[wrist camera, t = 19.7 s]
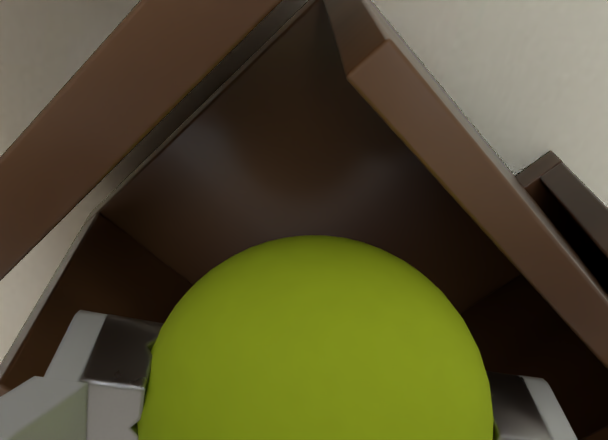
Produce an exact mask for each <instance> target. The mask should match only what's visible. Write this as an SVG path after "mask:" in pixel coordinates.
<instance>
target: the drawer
mask: <svg viewBox="0 0 608 440" xmlns="http://www.w3.org/2000/svg"><path fill="white" fill-rule="evenodd" d="M281 1H282V0H140V1H139V3H138V4H137V5H136V6H135V7H134V8H133V9H132V10H131V12H130V13H129V14H128V15H127V16H126V17H125V18H124V19H123V20H122V22H121V23H120V24H119V25H118V26H117V27H116V28H115V29H114V31H113V32H112V33H111V34H110V35H109V36H108V37H107V38H106V40H105V41H104V42H103V43H102V44H101V45H100V46H99V47H98V48H97V50H96V51H95V52H94V53H93V54H92V55H91V56H90V57H89V59H88V60H87V61H86V62H85V63H84V64H83V65H82V66H81V68H80V69H79V70H78V71H77V72H76V73H75V74H74V75H73V77H72V78H71V79H70V80H69V81H68V82H67V83H66V84H65V85H64V87H63V88H62V89H61V90H60V91H59V92H58V93H57V94H56V96H55V97H54V98H53V99H52V100H51V101H50V102H49V103H48V105H47V106H46V107H45V108H44V109H43V110H42V111H41V112H40V113H39V115H38V116H37V117H36V118H35V119H34V120H33V121H32V122H31V124H30V125H29V126H28V127H27V128H26V129H25V130H24V131H23V133H22V134H21V135H20V136H19V137H18V138H17V139H16V140H15V141H14V143H13V144H12V145H11V146H10V147H9V148H8V149H7V150H6V152H5V153H4V154H3V155H2V156H1V157H0V281H1V280H2V279H3V278H4V277H5V276H6V275H7V274H8V273H9V272H10V271H11V270H12V269H13V268H14V267H15V266H16V265H17V264H18V263H19V262H20V261H21V260H22V259H23V258H24V257H25V256H26V255H27V254H28V253H29V252H30V251H31V250H32V249H33V248H34V247H35V246H36V245H37V244H38V243H39V242H40V241H41V240H42V239H43V238H44V237H45V236H46V235H47V234H48V233H49V232H50V231H51V230H52V229H53V228H54V227H55V226H56V225H57V224H58V223H59V222H60V221H61V220H62V219H63V218H64V217H65V216H66V215H67V214H68V213H69V212H70V211H71V210H72V209H73V208H74V207H75V206H76V205H77V204H78V203H79V202H80V201H81V200H82V199H83V198H84V197H85V196H86V195H87V194H88V193H89V192H90V191H91V190H92V189H93V188H94V187H95V186H96V185H97V184H98V183H99V182H100V181H101V180H102V179H103V178H104V177H105V176H106V175H107V174H108V173H109V172H110V171H111V170H112V169H113V168H114V167H115V166H116V165H117V164H118V163H119V162H120V161H121V160H122V159H123V158H124V157H125V156H126V155H127V154H128V153H129V152H131V151H132V150H133V149H134V148H135V147H136V146H137V145H138V144H139V143H140V142H141V141H142V140H143V139H144V138H145V137H146V136H147V135H148V134H149V133H150V132H151V131H152V130H153V129H154V128H155V127H156V126H157V125H158V124H159V123H160V122H161V121H162V120H163V119H164V118H165V117H166V116H167V115H168V114H169V113H170V112H171V111H172V110H173V109H174V108H175V107H176V106H177V105H178V104H179V103H180V102H181V101H182V100H183V99H184V98H185V97H186V96H187V95H188V94H189V93H190V92H191V91H192V90H193V89H194V88H195V87H196V86H197V85H198V84H199V83H200V82H201V81H202V80H203V79H204V78H205V77H206V76H207V75H208V74H209V73H210V72H211V71H212V70H213V69H214V68H215V67H216V66H217V65H218V64H219V63H220V62H221V61H222V60H223V59H224V58H225V57H226V56H227V55H228V54H229V53H230V52H231V51H232V50H233V49H234V48H235V47H236V46H237V45H238V44H239V43H240V42H241V41H242V40H243V39H244V38H245V37H246V36H247V35H248V34H249V33H250V32H251V31H252V30H253V29H254V28H255V27H256V26H257V25H258V24H259V23H260V22H261V21H262V20H263V19H264V18H265V17H266V16H267V15H268V14H269V13H270V12H271V11H272V10H273V9H274V8H275V7H276V6H277V5H278V4H279V3H280V2H281ZM304 235H326V236H334V237H343V238H348V239H352V240H356V241H360V242H364V243H366V244H369V245H372V246H375V247H377V248H380V249H382V250H384V251H386V252H388V253H390V254H392V255H394V256H396V257H398V258H400V259H402V260H404V261H405V262H407V263H408V264H410V265H411V266H413V267H414V268H415V269H417V270H418V271H420V272H421V273H422V274H423V275H424V276H425V277H427V278H428V279H429V280H430V281H431V282H432V283H433V284H434V285H435V286H436V287H438V288H439V289H440V290H441V291H442V292H443V293H444V295H445V296H446V297H447V299H448V300H449V301H450V302H451V304H452V305H453V306H454V308H455V309H456V310H457V312H458V313H459V314H460V315H461V317H462V318H463V320H464V322H465V323H466V325H467V327H468V329H469V331H470V333H471V335H472V337H473V339H474V341H475V343H476V345H477V347H478V349H479V351H480V354H481V358H482V361H483V364H484V367H485V370H486V371H491V372H498V373H505V374H512V375H522V376H530V377H538V378H543V379H544V380H545V381H546V382H547V383H548V384H549V386H550V388H551V389H552V391H553V393H554V395H555V397H556V399H557V401H558V403H559V405H560V407H561V409H562V410H563V412H564V414H565V416H566V418H567V420H568V422H569V424H570V426H571V428H572V430H573V431H574V433H575V435H576V437H577V439H578V440H580V439H582V438H584V437H586V436H588V435H590V434H592V433H594V432H596V431H598V430H599V429H601V428H603V427H605V426H607V425H608V292H607V291H606V290H605V288H604V287H603V286H602V284H601V283H600V282H599V281H598V279H597V278H596V277H595V275H594V274H593V273H592V272H591V270H590V269H589V268H588V267H587V265H586V264H585V263H584V261H583V260H582V259H581V258H580V256H579V255H578V254H577V252H576V251H575V250H574V249H573V247H572V246H571V245H570V243H569V242H568V241H567V240H566V238H565V237H564V236H563V235H562V234H561V232H560V231H559V230H558V229H557V227H556V226H555V225H554V224H553V223H552V221H551V220H550V219H549V218H548V216H547V215H546V214H545V213H544V212H543V210H542V209H541V208H540V207H539V205H538V204H537V203H536V202H535V201H534V199H533V198H532V197H531V196H530V194H529V193H528V192H527V191H526V189H525V188H524V187H523V186H522V185H521V183H520V182H519V181H518V180H517V178H516V177H515V176H514V175H513V174H512V172H511V171H510V170H509V169H508V167H507V166H506V165H505V164H504V163H503V161H502V160H501V159H500V158H499V156H498V155H497V154H496V153H495V151H494V150H493V149H492V148H491V147H490V145H489V144H488V143H487V142H486V140H485V139H484V138H483V137H482V136H481V134H480V133H479V132H478V131H477V129H476V128H475V127H474V126H473V125H472V123H471V122H470V121H469V120H468V118H467V117H466V116H465V115H464V113H463V112H462V111H461V110H460V109H459V107H458V106H457V105H456V104H455V102H454V101H453V100H452V99H451V98H450V96H449V95H448V94H447V93H446V91H445V90H444V89H443V88H442V87H441V85H440V84H439V83H438V82H437V80H436V79H435V78H434V77H433V75H432V74H431V73H430V72H429V71H428V69H427V68H426V67H425V66H424V64H423V63H422V62H421V61H420V60H419V58H418V57H417V56H416V55H415V53H414V52H413V51H412V50H411V49H410V47H409V46H408V45H407V44H406V42H405V41H404V40H403V39H402V37H401V36H400V35H399V34H398V33H397V31H396V30H395V29H394V28H393V26H392V25H391V24H390V23H389V22H388V20H387V19H386V18H385V17H384V15H383V14H382V13H381V12H380V11H379V9H378V8H377V7H376V6H375V4H374V3H373V2H372V1H371V0H309V1H308V2H307V3H306V4H305V5H304V6H303V7H302V8H301V9H300V10H299V11H298V12H297V13H295V14H294V15H293V16H292V17H291V18H290V19H289V20H288V21H287V22H286V23H285V24H284V25H283V26H282V27H281V28H280V29H279V30H278V31H277V32H276V33H275V34H274V35H273V36H272V37H271V38H270V39H269V40H268V41H267V42H266V43H265V44H264V45H263V46H262V47H261V48H260V49H258V50H257V51H256V52H255V53H254V54H253V55H252V56H251V57H250V58H249V59H248V60H247V61H246V62H245V63H244V64H243V65H242V66H241V67H240V68H239V69H238V70H237V71H236V72H235V73H234V74H233V75H232V76H231V77H230V78H229V79H228V80H227V81H226V82H225V83H224V84H223V85H222V86H220V87H219V88H218V89H217V90H216V91H215V92H214V93H213V94H212V95H211V96H210V97H209V98H208V99H207V100H206V101H205V102H204V103H203V104H202V105H201V106H200V107H199V108H198V109H197V110H196V111H195V112H194V113H193V114H192V115H191V116H190V117H189V118H188V119H187V120H186V121H185V122H183V123H182V124H181V125H180V126H179V127H178V128H177V129H176V130H175V131H174V132H173V133H172V134H171V135H170V136H169V137H168V138H167V139H166V140H165V141H164V142H163V143H162V144H161V145H160V146H159V147H158V148H157V149H156V150H155V151H154V152H153V153H152V154H151V155H150V156H149V157H148V158H147V159H145V160H144V161H143V162H142V163H141V164H140V165H139V166H138V167H137V168H136V169H135V170H134V171H133V172H132V173H131V174H130V175H129V176H128V177H127V178H126V179H125V180H124V181H123V182H122V183H121V184H120V185H119V186H118V187H117V188H116V189H115V190H114V191H113V192H112V193H111V194H110V195H108V196H107V197H106V198H105V199H104V200H103V201H102V202H101V203H100V204H99V205H98V206H97V207H96V208H95V209H94V210H93V211H92V212H91V213H90V215H89V216H88V218H87V220H86V221H85V223H84V225H83V227H82V228H81V230H80V232H79V233H78V235H77V237H76V238H75V240H74V242H73V243H72V245H71V247H70V248H69V250H68V252H67V253H66V255H65V257H64V258H63V260H62V262H61V264H60V265H59V267H58V269H57V270H56V272H55V274H54V275H53V277H52V279H51V280H50V282H49V284H48V285H47V287H46V289H45V290H44V292H43V294H42V295H41V297H40V299H39V300H38V302H37V304H36V306H35V307H34V309H33V311H32V312H31V314H30V316H29V317H28V319H27V321H26V322H25V324H24V326H23V327H22V329H21V331H20V332H19V334H18V336H17V337H16V339H15V341H14V342H13V344H12V346H11V348H10V349H9V351H8V353H7V354H6V356H5V358H4V359H3V361H2V363H1V364H0V397H1V396H2V395H4V394H6V393H7V392H9V391H11V390H12V389H14V388H16V387H17V386H19V385H20V384H22V383H24V382H25V381H27V380H29V379H30V378H32V377H34V376H39V377H44V375H45V373H46V371H47V369H48V367H49V365H50V363H51V361H52V359H53V357H54V355H55V353H56V351H57V349H58V347H59V345H60V343H61V341H62V339H63V337H64V335H65V333H66V331H67V329H68V327H69V325H70V323H71V321H72V319H73V317H74V315H75V314H76V313H77V312H78V311H79V310H85V311H91V312H96V313H102V314H107V315H109V314H112V315H117V316H123V317H129V318H135V319H141V320H147V321H152V322H158V323H165V321H166V319H167V318H168V316H169V315H170V313H171V312H172V310H173V308H174V307H175V305H176V304H177V303H178V302H179V301H180V299H181V298H182V297H183V296H184V295H185V294H186V293H187V291H188V290H189V289H190V288H191V287H192V286H193V285H194V284H195V283H196V282H197V281H198V280H200V279H201V278H202V277H203V276H204V275H205V274H207V273H208V272H209V271H210V270H212V269H213V268H215V267H216V266H218V265H219V264H221V263H222V262H224V261H225V260H227V259H229V258H230V257H232V256H234V255H236V254H238V253H240V252H242V251H244V250H246V249H248V248H250V247H253V246H256V245H259V244H262V243H265V242H268V241H272V240H277V239H281V238H286V237H294V236H304Z"/></svg>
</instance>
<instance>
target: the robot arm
mask: <svg viewBox="0 0 608 440" xmlns="http://www.w3.org/2000/svg"><path fill="white" fill-rule="evenodd" d="M163 324H164V323H158V322H152V321H147V320H141V319H135V318H129V317H123V316H117V315H112V314H109V315H107V314H102V313H96V312H91V311H85V310H79V311H78V312H77V313H76V314H75V315H74V317H73V319H72V321H71V323H70V325H69V327H68V329H67V331H66V333H65V335H64V337H63V339H62V341H61V343H60V345H59V347H58V349H57V351H56V353H55V355H54V357H53V359H52V361H51V363H50V365H49V367H48V369H47V371H46V373H45V375H44V377H39V376H34V377H32V378H30V379H29V380H27V381H25V382H24V383H22V384H20V385H19V386H17V387H16V388H14V389H12V390H11V391H9V392H7V393H6V394H4V395H2V396H1V397H0V440H138V426H137V422H138V421H140V419H141V414H142V411H143V406H144V401H145V395H146V389H147V384H148V380H149V375H150V371H151V361H152V356H153V355H152V354H151V349H152V347H153V345H154V343H155V342H156V340H157V337H158V335H159V332H160V330H161V327H162V326H163ZM486 374H487V377H488V380H489V384H490V392H491V400H492V409H493V418H494V421H493V440H578V439H577V437H576V435H575V433H574V431H573V430H572V428H571V426H570V424H569V422H568V420H567V418H566V416H565V414H564V412H563V410H562V409H561V407H560V405H559V403H558V401H557V399H556V397H555V395H554V393H553V391H552V389H551V388H550V386H549V384H548V383H547V382H546V381H545V380H544V379H543V378H538V377H530V376H522V375H512V374H505V373H498V372H491V371H486Z"/></svg>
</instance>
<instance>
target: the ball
mask: <svg viewBox="0 0 608 440" xmlns="http://www.w3.org/2000/svg"><path fill="white" fill-rule="evenodd" d="M151 354H152V355H153V356H152V361H151V371H150V375H149V380H148V384H147V389H146V395H145V401H144V406H143V411H142V414H141V419H140V421H138V422H137V426H138V440H493V421H494V418H493V409H492V400H491V392H490V384H489V380H488V377H487V374H486V370H485V367H484V364H483V361H482V358H481V354H480V351H479V349H478V347H477V345H476V343H475V341H474V339H473V337H472V335H471V333H470V331H469V329H468V327H467V325H466V323H465V322H464V320H463V318H462V317H461V315H460V314H459V313H458V312H457V310H456V309H455V308H454V306H453V305H452V304H451V302H450V301H449V300H448V299H447V297H446V296H445V295H444V293H443V292H442V291H441V290H440V289H439V288H438V287H436V286H435V285H434V284H433V283H432V282H431V281H430V280H429V279H428V278H427V277H425V276H424V275H423V274H422V273H421V272H420V271H418V270H417V269H415V268H414V267H413V266H411V265H410V264H408V263H407V262H405V261H404V260H402V259H400V258H398V257H396V256H394V255H392V254H390V253H388V252H386V251H384V250H382V249H380V248H377V247H375V246H372V245H369V244H366V243H364V242H360V241H356V240H352V239H348V238H343V237H334V236H326V235H304V236H294V237H286V238H281V239H277V240H272V241H268V242H265V243H262V244H259V245H256V246H253V247H250V248H248V249H246V250H244V251H242V252H240V253H238V254H236V255H234V256H232V257H230V258H229V259H227V260H225V261H224V262H222V263H221V264H219V265H218V266H216V267H215V268H213V269H212V270H210V271H209V272H208V273H207V274H205V275H204V276H203V277H202V278H201V279H200V280H198V281H197V282H196V283H195V284H194V285H193V286H192V287H191V288H190V289H189V290H188V291H187V293H186V294H185V295H184V296H183V297H182V298H181V299H180V301H179V302H178V303H177V304H176V305H175V307H174V308H173V310H172V312H171V313H170V315H169V316H168V318H167V319H166V321H165V323H164V324H163V326H162V327H161V330H160V332H159V335H158V337H157V340H156V342H155V343H154V345H153V347H152V349H151Z"/></svg>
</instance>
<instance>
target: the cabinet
mask: <svg viewBox="0 0 608 440" xmlns="http://www.w3.org/2000/svg"><path fill="white" fill-rule="evenodd" d="M515 177H516V178H517V180H518V181H519V182H520V183H521V185H522V186H523V187H524V188H525V189H526V191H527V192H528V193H529V194H530V196H531V197H532V198H533V199H534V201H535V202H536V203H537V204H538V205H539V207H540V208H541V209H542V210H543V212H544V213H545V214H546V215H547V216H548V218H549V219H550V220H551V221H552V223H553V224H554V225H555V226H556V227H557V229H558V230H559V231H560V232H561V234H562V235H563V236H564V237H565V238H566V240H567V241H568V242H569V243H570V245H571V246H572V247H573V249H574V250H575V251H576V252H577V254H578V255H579V256H580V258H581V259H582V260H583V261H584V263H585V264H586V265H587V267H588V268H589V269H590V270H591V272H592V273H593V274H594V275H595V277H596V278H597V279H598V281H599V282H600V283H601V284H602V286H603V287H604V288H605V290H606V291H607V292H608V208H607V207H606V206H605V205H604V204H603V203H602V202H601V201H600V200H599V199H598V198H597V197H596V196H595V195H594V194H593V192H592V191H591V190H590V189H589V188H588V187H587V186H586V185H585V184H584V183H583V182H582V181H581V180H580V179H579V178H578V177H577V176H576V175H575V174H574V173H573V172H572V171H571V170H570V169H569V168H568V167H567V166H566V165H565V164H564V163H563V162H562V161H561V160H560V159H559V158H558V157H557V156H556V155H555V154H554V153H553V152H552V151H550V152H548V153H547V154H546V155H544V156H543V157H541V158H540V159H539V160H537V161H536V162H534V163H533V164H532V165H530V166H529V167H527V168H526V169H525V170H523V171H522V172H521V173H519V174H518V175H516V176H515ZM580 440H608V425H607V426H605V427H603V428H601V429H599V430H598V431H596V432H594V433H592V434H590V435H588V436H586V437H584V438H582V439H580Z"/></svg>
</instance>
